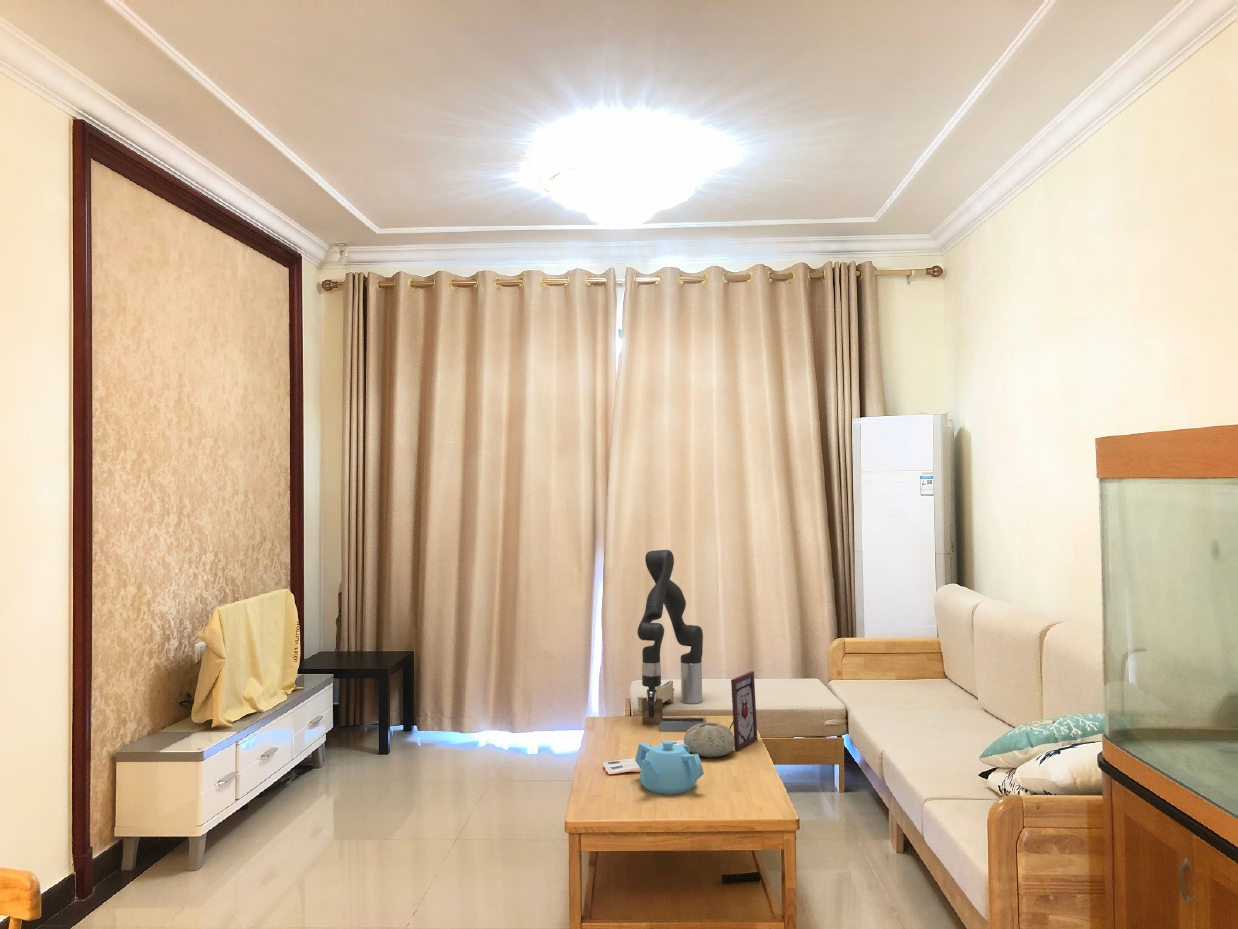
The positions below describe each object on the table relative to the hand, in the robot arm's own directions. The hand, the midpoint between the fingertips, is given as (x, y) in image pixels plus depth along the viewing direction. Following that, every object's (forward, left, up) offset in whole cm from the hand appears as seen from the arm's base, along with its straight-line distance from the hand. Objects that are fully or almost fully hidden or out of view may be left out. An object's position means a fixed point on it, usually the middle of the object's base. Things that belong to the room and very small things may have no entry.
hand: (651, 714), depth 334 cm
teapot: (+72, +7, -4) cm, 72 cm away
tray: (+7, +12, -4) cm, 14 cm away
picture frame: (+26, +31, -4) cm, 41 cm away
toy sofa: (-27, +1, -4) cm, 28 cm away
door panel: (0, 0, -4) cm, 4 cm away
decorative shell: (+38, +21, -4) cm, 44 cm away
